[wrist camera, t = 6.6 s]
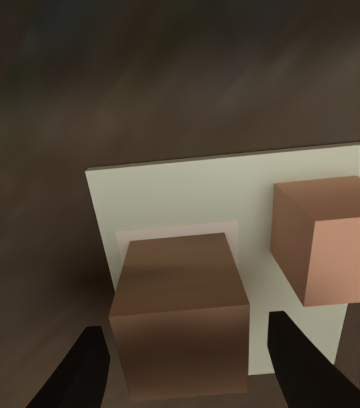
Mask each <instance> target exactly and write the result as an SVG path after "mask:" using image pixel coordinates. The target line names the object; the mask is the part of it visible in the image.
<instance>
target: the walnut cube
mask: <svg viewBox="0 0 360 408" xmlns="http://www.w3.org/2000/svg"><path fill="white" fill-rule="evenodd" d="M108 318H109V321H110V325H111V328H112V332H113V336H114V339H115V343H116V346H117V350H118V354H119V357H120V361H121V364H122V368H123V372H124V375H125V379H126V383H127V386H128V390H129V393H130V397H131V401H132V402H138V401H150V400H162V399H175V398H187V397H199V396H211V395H223V394H235V393H247V392H248V368H249V327H250V303H249V300H248V297H247V295H246V292H245V289H244V286H243V283H242V281H241V278H240V275H239V272H238V269H237V267H236V264H235V261H234V258H233V255H232V253H231V250H230V247H229V244H228V241H227V239H226V236H225V233H224V232H223V233H212V234H201V235H190V236H179V237H168V238H157V239H146V240H135V241H130V242H129V246H128V249H127V253H126V256H125V260H124V263H123V267H122V271H121V274H120V278H119V281H118V285H117V288H116V292H115V295H114V299H113V302H112V306H111V309H110V313H109V316H108Z"/></svg>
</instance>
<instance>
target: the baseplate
mask: <svg viewBox="0 0 360 408" xmlns="http://www.w3.org/2000/svg"><path fill="white" fill-rule="evenodd" d="M85 173H86V177H87V181H88V185H89V189H90V193H91V197H92V201H93V205H94V209H95V213H96V217H97V221H98V225H99V229H100V233H101V237H102V241H103V245H104V250H105V254H106V258H107V262H108V266H109V270H110V274H111V278H112V282H113V286H114V290H115V292H116V288H117V285H118V281H119V278H120V274H121V271H122V267H123V263H124V260H125V256H126V253H127V249H128V246H129V242H130V241H135V240H146V239H157V238H168V237H179V236H190V235H201V234H212V233H223V232H224V233H225V236H226V239H227V241H228V244H229V247H230V250H231V253H232V255H233V258H234V261H235V264H236V267H237V269H238V272H239V275H240V278H241V281H242V283H243V286H244V289H245V292H246V295H247V297H248V300H249V303H250V327H249V368H248V375H256V374H268V373H275V372H274V368H273V365H272V362H271V358H270V355H269V351H268V348H267V335H268V320H269V312H272V311H285V312H286V313H287V314H288V316H289V317H290V318H291V319H292V320H293V322H294V323H295V324H296V325H297V326H298V327H299V328H300V330H301V331H302V332H303V333H304V334H305V335H306V336H307V337H308V339H309V340H310V341H311V342H312V343H313V344H314V345H315V346H316V347H317V348H318V349H319V350H320V351H321V353H322V354H323V355H324V356H325V357H326V358H327V359H328V360H329V361H330V362H331V363H332V364H333V365H334V362H335V357H336V353H337V349H338V344H339V340H340V335H341V331H342V327H343V322H344V318H345V313H346V309H347V305H348V303H346V304H334V305H323V306H311V307H303V305H302V304H301V302H300V300H299V299H298V297H297V295H296V294H295V292H294V290H293V289H292V287H291V285H290V284H289V282H288V280H287V279H286V277H285V275H284V274H283V272H282V270H281V269H280V267H279V265H278V264H277V262H276V260H275V259H274V257H273V255H272V253H271V252H270V248H271V232H272V215H273V198H274V183H282V182H293V181H303V180H314V179H325V178H335V177H346V176H359V177H360V142H351V143H341V144H330V145H320V146H310V147H299V148H289V149H278V150H268V151H258V152H247V153H237V154H226V155H216V156H205V157H195V158H185V159H174V160H164V161H153V162H143V163H133V164H122V165H112V166H101V167H91V168H88V169H87V170H86V171H85Z"/></svg>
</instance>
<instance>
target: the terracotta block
mask: <svg viewBox="0 0 360 408" xmlns="http://www.w3.org/2000/svg"><path fill="white" fill-rule="evenodd" d="M270 252H271V253H272V255H273V257H274V259H275V260H276V262H277V264H278V265H279V267H280V269H281V270H282V272H283V274H284V275H285V277H286V279H287V280H288V282H289V284H290V285H291V287H292V289H293V290H294V292H295V294H296V295H297V297H298V299H299V300H300V302H301V304H302V305H303V307H311V306H323V305H334V304H346V303H357V302H360V177H359V176H346V177H335V178H325V179H314V180H303V181H293V182H282V183H274V198H273V215H272V232H271V248H270Z"/></svg>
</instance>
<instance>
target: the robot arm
mask: <svg viewBox="0 0 360 408" xmlns="http://www.w3.org/2000/svg"><path fill="white" fill-rule="evenodd" d="M267 348H268V351H269V355H270V358H271V362H272V365H273V368H274V372H275V374H276V377H277V379H278V382H279V385H280V387H281V390H282V392H283V395H284V397H285V400H286V402H287V405H288V407H289V408H360V390H359V389H358V388H357V387H356V386H355V385H354V384H353V383H352V382H351V381H350V380H348V379H347V378H346V377H345V376H344V375H343V374H342V373H341V372H340V371H339V370H338V369H337V368H336V367H335V366H334V365H333V364H332V363H331V362H330V361H329V360H328V359H327V358H326V357H325V356H324V355H323V354H322V353H321V351H320V350H319V349H318V348H317V347H316V346H315V345H314V344H313V343H312V342H311V341H310V340H309V339H308V337H307V336H306V335H305V334H304V333H303V332H302V331H301V330H300V328H299V327H298V326H297V325H296V324H295V323H294V322H293V320H292V319H291V318H290V317H289V316H288V314H287V313H286V312H285V311H272V312H269V320H268V335H267ZM109 363H110V355H109V352H108V349H107V345H106V342H105V338H104V335H103V332H102V328H101V326H91V327H86V328H85V329H84V331H83V332H82V334H81V335H80V337H79V338H78V339H77V341H76V342H75V344H74V345H73V347H72V348H71V349H70V351H69V352H68V354H67V355H66V356H65V358H64V359H63V360H62V362H61V363H60V364H59V366H58V367H57V369H56V370H55V371H54V373H53V374H52V375H51V377H50V378H49V379H48V380H47V382H46V383H45V384H44V386H43V387H42V388H41V389H40V391H39V392H38V393H37V394H36V395H35V397H34V398H33V399H32V400H31V402H30V403H29V404H28V405H27V407H26V408H100V407H101V403H102V399H103V396H104V392H105V388H106V383H107V377H108V370H109Z"/></svg>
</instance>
